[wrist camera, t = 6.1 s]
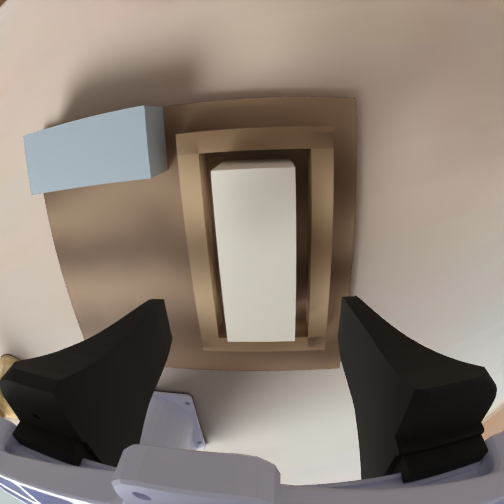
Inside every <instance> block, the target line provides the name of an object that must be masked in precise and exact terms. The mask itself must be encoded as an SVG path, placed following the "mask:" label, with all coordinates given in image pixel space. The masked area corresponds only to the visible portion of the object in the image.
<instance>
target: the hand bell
mask: <svg viewBox="0 0 504 504" xmlns="http://www.w3.org/2000/svg"><path fill="white" fill-rule="evenodd" d="M15 361H20V360H18V359H16V358H15V357H12V356H9V355H3V356H2V357H1V359H0V379H1V378H2V377H3V375H4V374H5V373H6V372H7V371H8V369H9V368H10V367H11V366H12V364H13V363H14V362H15ZM5 416H8V417H11V418H18V417H17V416H16V414H15V413H14V411H13V410H12V409H11V407H10V406H9V404H8V403H7V401H6V400H5V398H4V396H3V394H2V392H1V389H0V417H2V418H4V417H5Z"/></svg>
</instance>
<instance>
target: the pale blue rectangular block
mask: <svg viewBox="0 0 504 504" xmlns="http://www.w3.org/2000/svg"><path fill="white" fill-rule="evenodd" d="M24 146H25V155H26V163H27V170H28V177H29V183H30V189H31V195H36V194H41V193H47V192H53V191H59V190H65V189H72V188H78V187H85V186H92V185H100V184H107V183H115V182H123V181H132V180H141V179H151V178H153V177H155V176H157V175H159V174H161V173H163V172H165V171H167V170H168V165H167V154H166V143H165V131H164V118H163V107H157V106H147V105H143V106H137V107H132V108H127V109H122V110H117V111H112V112H108V113H103V114H99V115H95V116H91V117H87V118H83V119H79V120H75V121H71V122H67V123H64V124H60V125H57V126H53V127H50V128H47V129H44V130H40V131H37V132H34V133H31V134H28V135H25V136H24Z"/></svg>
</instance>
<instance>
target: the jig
mask: <svg viewBox="0 0 504 504" xmlns="http://www.w3.org/2000/svg"><path fill="white" fill-rule="evenodd" d="M163 118H164V131H165V143H166V154H167V165H168V170H167V171H165V172H163V173H161V174H159V175H157V176H155V177H153V178H151V179H141V180H132V181H123V182H115V183H107V184H100V185H92V186H85V187H78V188H72V189H65V190H59V191H53V192H47V193H44V198H45V204H46V209H47V214H48V219H49V223H50V228H51V232H52V236H53V241H54V245H55V249H56V252H57V256H58V260H59V264H60V267H61V271H62V274H63V278H64V281H65V284H66V288H67V291H68V294H69V297H70V300H71V303H72V306H73V309H74V312H75V315H76V318H77V320H78V323H79V326H80V329H81V331H82V334H83V337H84V339H85V340H86V339H88V338H90V337H92V336H94V335H96V334H97V333H99V332H101V331H102V330H104V329H106V328H107V327H109V326H110V325H112V324H114V323H115V322H117V321H118V320H120V319H121V318H123V317H124V316H125V315H127V314H128V313H130V312H131V311H133V310H134V309H135V308H137V307H138V306H140V305H141V304H143V303H144V302H146V301H148V300H150V299H164V302H165V306H166V311H167V316H168V320H169V325H170V329H171V334H172V338H173V339H172V343H171V348H170V352H169V355H168V359H167V361H166V364H165V366H164V367H171V368H186V369H205V370H236V371H281V370H312V369H331V368H339V367H340V361H341V357H340V351H339V344H338V330H339V321H340V311H341V301H342V297H349V290H350V279H351V268H352V256H353V242H354V225H355V203H356V102H355V98H341V97H263V98H244V99H230V100H218V101H207V102H198V103H189V104H181V105H174V106H167V107H163ZM258 159H291V160H292V162H293V164H294V166H295V182H296V315H295V341H280V342H228V340H227V332H226V323H225V315H224V306H223V297H222V288H221V278H220V269H219V259H218V249H217V239H216V228H215V217H214V206H213V194H212V182H211V170H212V169H214V168H215V167H216V166H218V165H219V164H220V163H221V162H223V161H236V160H258Z"/></svg>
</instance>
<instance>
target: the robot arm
mask: <svg viewBox="0 0 504 504" xmlns="http://www.w3.org/2000/svg"><path fill="white" fill-rule="evenodd" d="M172 339H173V338H172V334H171V329H170V325H169V320H168V316H167V311H166V306H165V302H164V299H150V300H148V301H146V302H144V303H143V304H141V305H140V306H138V307H137V308H135V309H134V310H133V311H131V312H130V313H128V314H127V315H125V316H124V317H123V318H121V319H120V320H118V321H117V322H115V323H114V324H112V325H110V326H109V327H107V328H106V329H104V330H102V331H101V332H99V333H97V334H96V335H94V336H92V337H90V338H88V339H86V340H84V341H82V342H80V343H78V344H75V345H73V346H70V347H68V348H65V349H63V350H60V351H57V352H54V353H51V354H48V355H44V356H41V357H36V358H32V359H26V360H21V361H15V362H14V363H13V364H12V366H11V367H10V368H9V369H8V371H7V372H6V373H5V374H4V375H3V377H2V378H1V379H0V389H1V392H2V394H3V396H4V398H5V400H6V401H7V403H8V404H9V406H10V407H11V409H12V410H13V411H14V413H15V414H16V416H17V417H18V419H19V420H20V422H19V424H18V425H17V426H16V425H15V424H13V423H12V422H11V421H9V420H6V419H4V418H2V417H0V488H1V489H2V490H3V491H5V492H6V493H8V494H10V495H12V496H13V497H15V498H17V499H18V500H20V501H22V502H23V503H25V504H504V431H502V432H500V433H497V434H495V435H493V436H491V437H489V438H488V439H486V440H485V441H484V439H483V437H482V435H481V434H482V433H483V432H484V427H483V425H482V423H481V421H482V420H483V418H484V417H485V415H486V414H487V412H488V410H489V409H490V407H491V405H492V403H493V401H494V399H495V397H496V392H497V388H496V384H495V383H494V381H493V379H492V378H491V376H490V375H489V373H488V372H487V370H486V369H485V367H482V366H477V365H473V364H469V363H465V362H461V361H458V360H455V359H453V358H450V357H447V356H444V355H442V354H439V353H437V352H435V351H433V350H431V349H429V348H426V347H425V346H423V345H421V344H419V343H417V342H415V341H414V340H412V339H410V338H409V337H407V336H406V335H404V334H403V333H401V332H400V331H398V330H397V329H396V328H394V327H393V326H391V325H390V324H389V323H388V322H386V321H385V320H384V319H383V318H381V317H380V316H379V315H378V314H377V313H376V312H374V311H373V310H372V309H371V308H370V307H369V306H368V305H366V304H365V303H364V302H363V301H362V300H361V299H360V298H358V297H357V296H349V297H342V301H341V311H340V321H339V330H338V344H339V351H340V357H341V361H342V365H343V368H344V372H345V375H346V379H347V382H348V386H349V389H350V393H351V396H352V400H353V404H354V408H355V415H356V422H357V430H358V439H359V448H360V462H361V480H356V481H348V482H340V483H330V484H317V485H300V486H294V485H285V484H280V472H279V471H278V469H277V468H276V466H275V465H274V464H272V463H271V462H268V461H266V460H264V459H262V458H259V457H257V456H250V455H243V454H235V453H218V452H205V451H196V449H205V447H206V444H205V441H204V438H203V434H202V431H201V428H200V424H199V421H198V417H197V414H196V410H195V407H194V403H193V399H192V397H191V396H190V395H187V394H177V393H166V392H157V391H154V390H155V388H156V385H157V383H158V381H159V378H160V376H161V374H162V371H163V369H164V366H165V364H166V361H167V359H168V355H169V352H170V348H171V343H172Z"/></svg>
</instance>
